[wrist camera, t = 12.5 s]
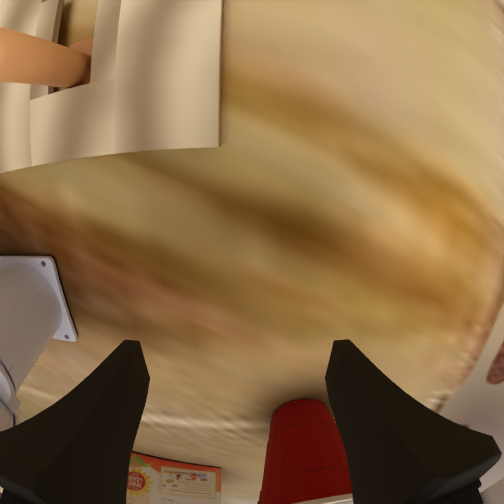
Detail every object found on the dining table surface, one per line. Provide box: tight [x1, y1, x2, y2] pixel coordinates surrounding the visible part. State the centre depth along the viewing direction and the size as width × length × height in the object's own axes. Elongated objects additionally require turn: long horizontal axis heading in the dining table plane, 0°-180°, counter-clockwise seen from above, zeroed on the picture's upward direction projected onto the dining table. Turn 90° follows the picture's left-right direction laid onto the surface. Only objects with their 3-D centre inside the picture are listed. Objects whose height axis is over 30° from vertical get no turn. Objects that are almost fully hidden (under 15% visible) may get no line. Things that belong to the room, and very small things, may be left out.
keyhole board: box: [0, 0, 224, 173], centre depth 11 cm, size 18×22×2 cm
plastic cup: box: [257, 399, 353, 504], centre depth 21 cm, size 11×11×12 cm
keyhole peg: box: [0, 28, 93, 93], centre depth 10 cm, size 5×5×9 cm
